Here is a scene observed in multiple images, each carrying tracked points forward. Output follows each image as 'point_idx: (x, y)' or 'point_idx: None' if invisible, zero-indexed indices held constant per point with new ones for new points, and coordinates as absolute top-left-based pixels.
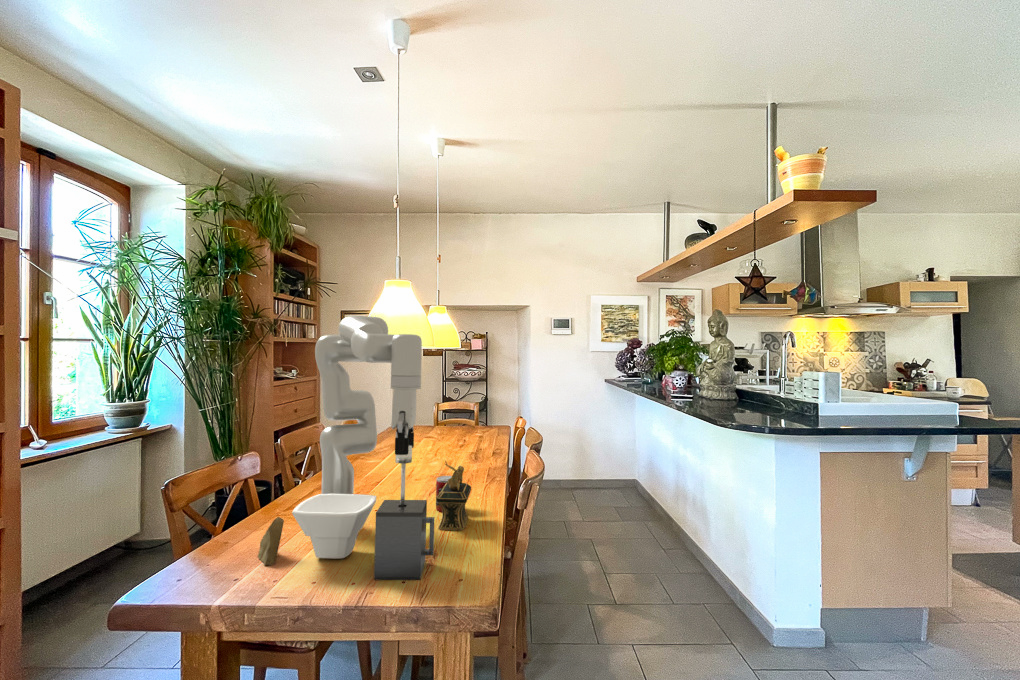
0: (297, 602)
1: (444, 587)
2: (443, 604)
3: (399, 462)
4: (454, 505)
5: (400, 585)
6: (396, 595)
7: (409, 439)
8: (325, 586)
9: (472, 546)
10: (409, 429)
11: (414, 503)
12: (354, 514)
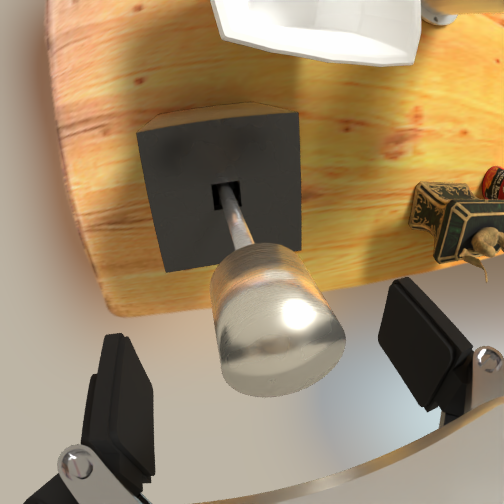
0: (59, 28)
1: (151, 249)
2: (96, 261)
3: (212, 282)
4: (437, 233)
5: None
6: (104, 180)
7: (407, 362)
8: (121, 36)
9: (335, 256)
10: (456, 408)
11: (259, 225)
12: (219, 31)
